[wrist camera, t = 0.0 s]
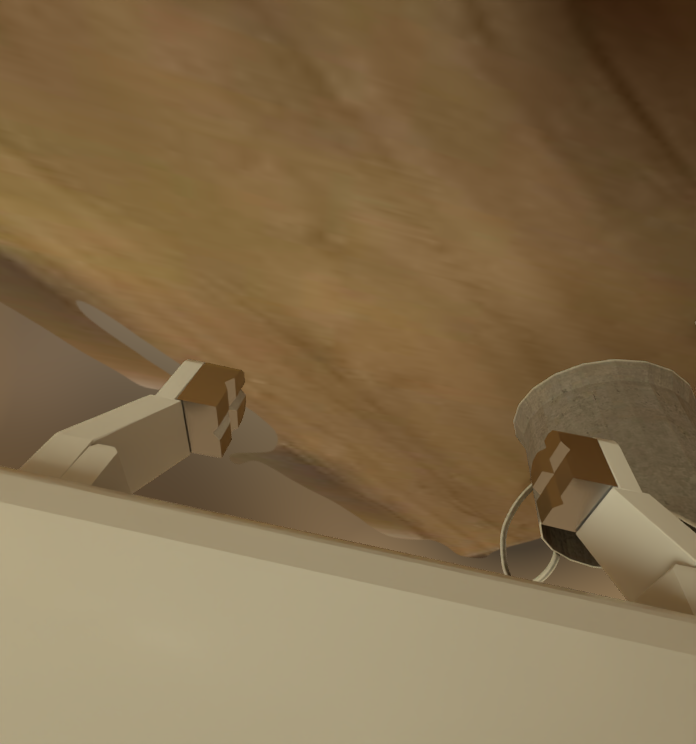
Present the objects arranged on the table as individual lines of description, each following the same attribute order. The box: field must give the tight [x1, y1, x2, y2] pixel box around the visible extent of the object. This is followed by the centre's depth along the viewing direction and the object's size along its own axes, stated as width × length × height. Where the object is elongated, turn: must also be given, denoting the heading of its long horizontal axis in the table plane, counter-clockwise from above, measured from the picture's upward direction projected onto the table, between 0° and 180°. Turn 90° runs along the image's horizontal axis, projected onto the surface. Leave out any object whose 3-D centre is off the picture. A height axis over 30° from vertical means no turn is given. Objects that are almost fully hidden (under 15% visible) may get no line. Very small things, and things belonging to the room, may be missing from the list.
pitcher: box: [500, 359, 696, 582], centre depth 55 cm, size 23×32×25 cm
